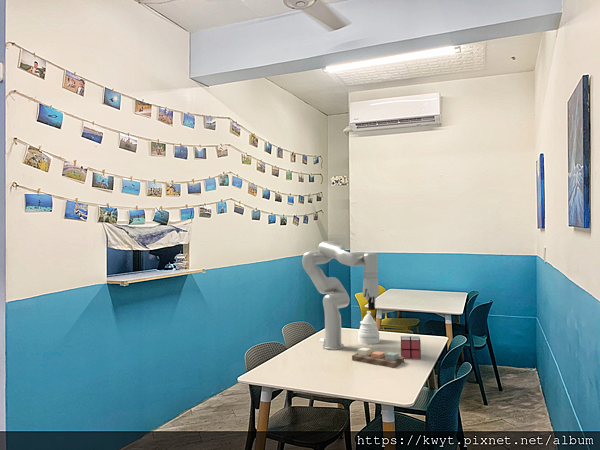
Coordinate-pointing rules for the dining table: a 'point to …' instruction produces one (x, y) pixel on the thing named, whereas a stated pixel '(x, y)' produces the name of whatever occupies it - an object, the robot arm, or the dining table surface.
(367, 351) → the button cream
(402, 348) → the puzzle cube
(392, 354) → the button sage
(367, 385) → the dining table surface
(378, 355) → the button terracotta
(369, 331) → the honey pot
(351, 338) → the dining table surface
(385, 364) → the key panel
